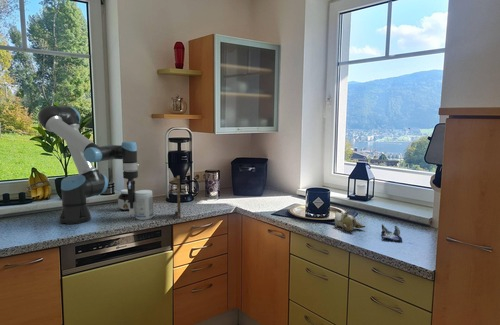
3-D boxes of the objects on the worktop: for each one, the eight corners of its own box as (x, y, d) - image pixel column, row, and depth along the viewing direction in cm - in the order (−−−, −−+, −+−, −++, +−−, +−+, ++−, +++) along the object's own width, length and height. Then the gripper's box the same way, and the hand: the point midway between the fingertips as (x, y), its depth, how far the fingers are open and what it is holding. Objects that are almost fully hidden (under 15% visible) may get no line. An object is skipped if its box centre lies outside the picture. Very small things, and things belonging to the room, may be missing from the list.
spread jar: (116, 210, 218) (115, 191, 216) (128, 206, 229) (127, 187, 227) (133, 212, 214) (133, 192, 213) (145, 207, 225) (144, 188, 224)
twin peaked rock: (409, 238, 170) (384, 231, 178) (410, 225, 168) (384, 219, 177) (398, 249, 162) (372, 241, 170) (398, 235, 160) (372, 228, 168)
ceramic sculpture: (343, 206, 191) (367, 214, 179) (342, 222, 192) (365, 232, 180) (328, 210, 185) (352, 218, 173) (327, 226, 186) (351, 236, 174)
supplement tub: (148, 214, 209) (147, 188, 207) (156, 217, 202) (155, 191, 200) (132, 217, 202) (131, 191, 200) (140, 221, 195) (139, 193, 193)
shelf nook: (171, 219, 200) (170, 178, 197) (171, 214, 209) (170, 175, 207) (180, 218, 201) (179, 178, 198) (180, 213, 210) (179, 175, 208)
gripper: (136, 172, 192) (138, 216, 194) (139, 168, 204) (140, 210, 207) (121, 172, 190) (123, 217, 193) (124, 169, 203) (126, 211, 206)
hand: (132, 213), depth 200 cm, fingers closed
